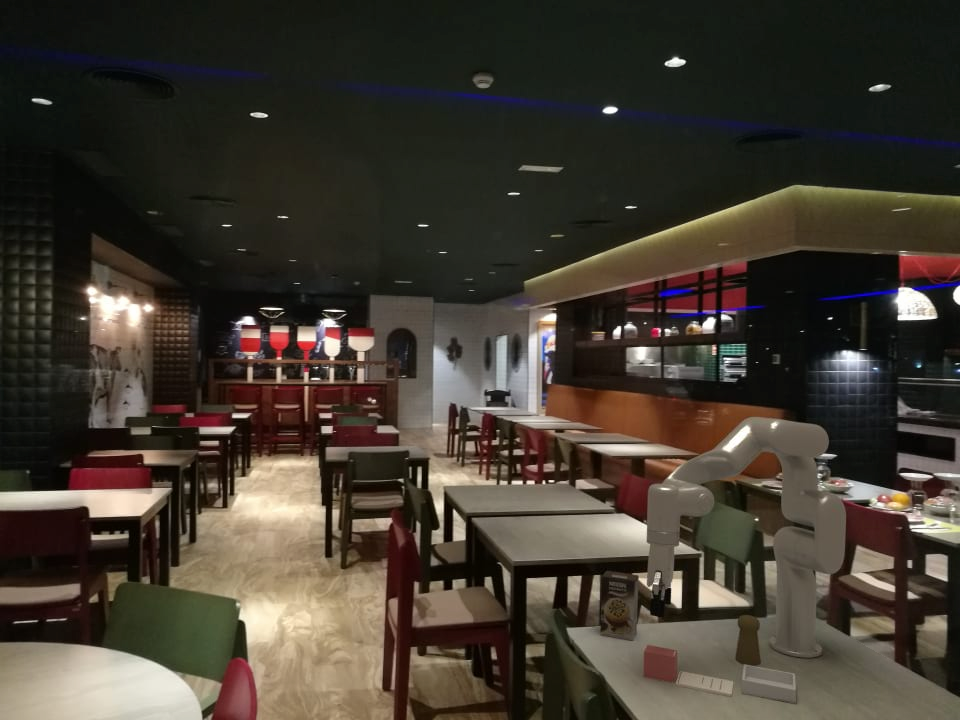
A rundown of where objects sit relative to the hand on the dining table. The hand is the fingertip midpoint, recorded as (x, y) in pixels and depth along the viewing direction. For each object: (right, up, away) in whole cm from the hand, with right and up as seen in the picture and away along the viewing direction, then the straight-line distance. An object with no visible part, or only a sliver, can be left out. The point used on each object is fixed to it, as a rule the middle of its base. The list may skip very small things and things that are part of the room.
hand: (660, 609), depth 162 cm
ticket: (+9, -16, -4) cm, 19 cm away
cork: (+24, -17, +10) cm, 31 cm away
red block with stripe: (0, -16, 0) cm, 16 cm away
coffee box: (-5, -16, +25) cm, 30 cm away
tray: (+23, -16, -6) cm, 29 cm away
